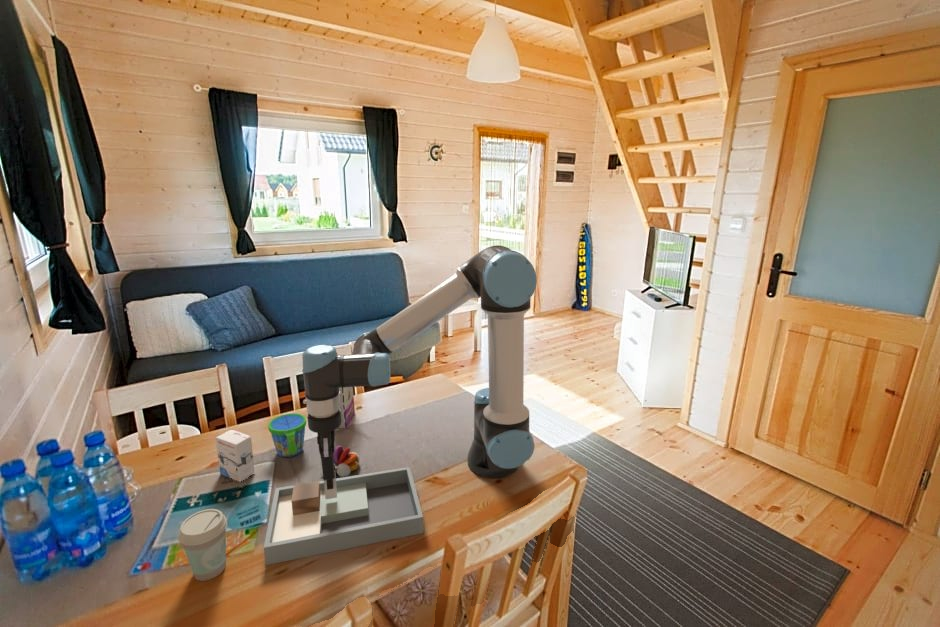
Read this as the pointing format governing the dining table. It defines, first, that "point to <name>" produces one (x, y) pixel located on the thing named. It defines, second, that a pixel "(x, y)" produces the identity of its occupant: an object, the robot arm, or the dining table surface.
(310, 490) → the walnut block
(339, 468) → the rainbow wheeled toy
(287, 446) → the snack cup
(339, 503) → the box
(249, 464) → the ink box
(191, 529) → the coffee cup
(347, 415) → the candy bar box
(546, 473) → the dining table surface
